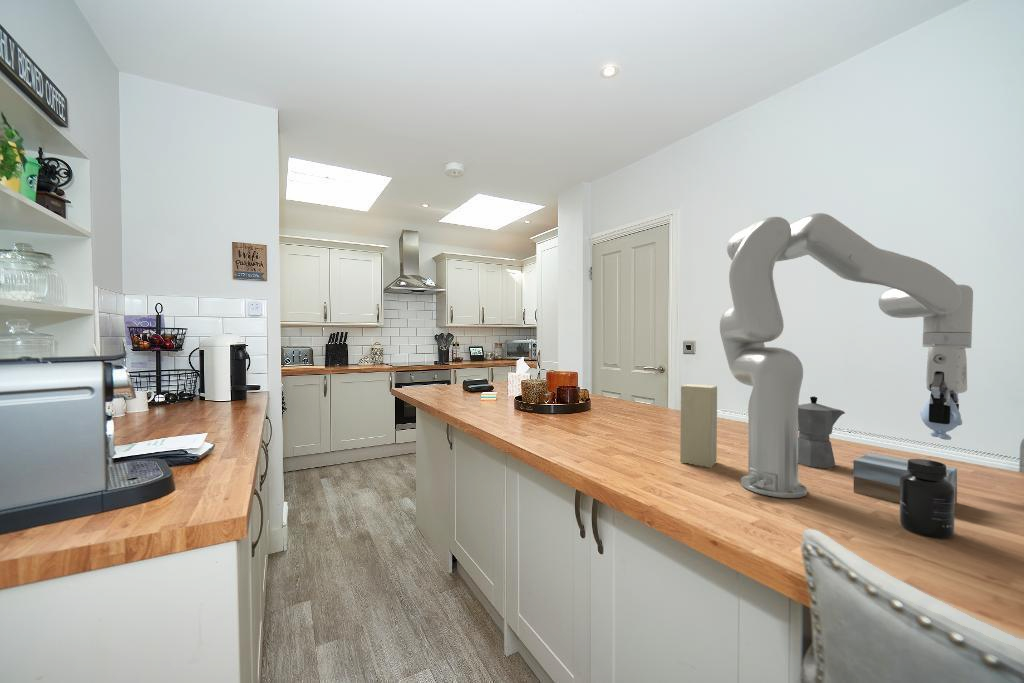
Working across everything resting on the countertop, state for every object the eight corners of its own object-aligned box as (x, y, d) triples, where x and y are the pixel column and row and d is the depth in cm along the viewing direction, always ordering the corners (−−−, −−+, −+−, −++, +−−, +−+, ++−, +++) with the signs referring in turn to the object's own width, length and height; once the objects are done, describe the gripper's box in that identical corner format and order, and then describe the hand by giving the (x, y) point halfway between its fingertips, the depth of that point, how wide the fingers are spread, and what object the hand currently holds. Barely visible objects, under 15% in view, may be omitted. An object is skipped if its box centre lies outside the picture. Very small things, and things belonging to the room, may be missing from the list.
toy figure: (978, 445, 88) (980, 387, 87) (943, 443, 89) (945, 386, 88) (935, 433, 98) (937, 382, 98) (905, 431, 99) (907, 381, 99)
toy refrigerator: (718, 461, 115) (717, 385, 114) (711, 468, 109) (711, 387, 109) (687, 456, 120) (687, 383, 119) (680, 462, 114) (679, 385, 114)
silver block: (944, 514, 80) (944, 477, 80) (853, 492, 91) (853, 460, 91) (956, 502, 85) (956, 468, 85) (870, 483, 97) (869, 453, 97)
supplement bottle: (889, 522, 76) (888, 457, 76) (923, 521, 77) (923, 456, 77) (929, 541, 69) (929, 468, 69) (966, 539, 70) (966, 467, 70)
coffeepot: (847, 464, 111) (847, 397, 111) (842, 472, 104) (841, 400, 104) (780, 453, 122) (780, 392, 122) (771, 460, 116) (771, 395, 115)
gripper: (961, 340, 85) (958, 428, 85) (979, 342, 94) (977, 421, 94) (911, 340, 91) (908, 422, 91) (933, 341, 101) (930, 415, 101)
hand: (943, 421), depth 93 cm, fingers closed on toy figure, 6 cm apart
